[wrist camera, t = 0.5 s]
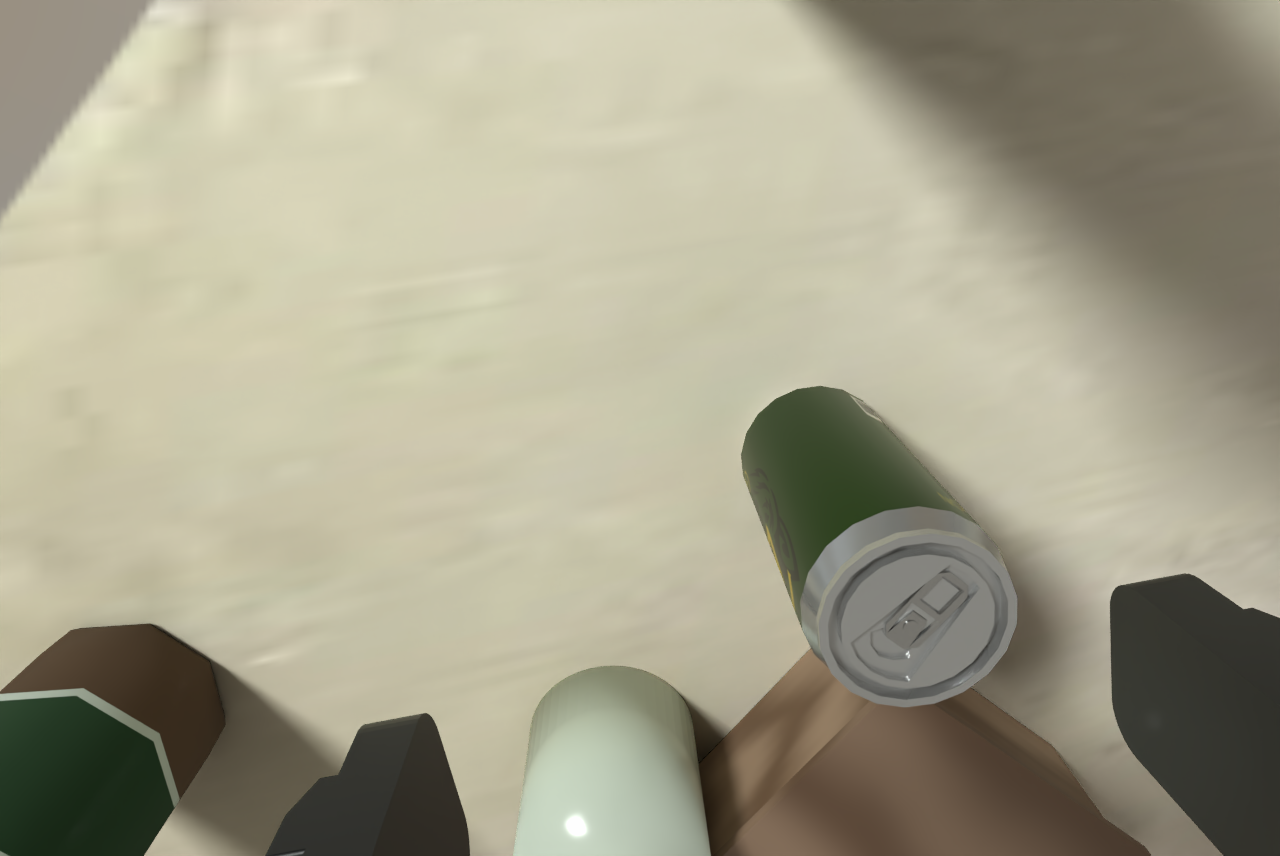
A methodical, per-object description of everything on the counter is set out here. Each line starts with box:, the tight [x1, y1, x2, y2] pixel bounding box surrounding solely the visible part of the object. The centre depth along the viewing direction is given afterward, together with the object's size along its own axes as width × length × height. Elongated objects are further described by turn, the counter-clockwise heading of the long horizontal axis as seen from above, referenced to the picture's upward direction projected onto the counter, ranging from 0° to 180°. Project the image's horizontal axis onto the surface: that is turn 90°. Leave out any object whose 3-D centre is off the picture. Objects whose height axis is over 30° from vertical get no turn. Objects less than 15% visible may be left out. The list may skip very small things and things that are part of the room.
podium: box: [699, 649, 1151, 856], centre depth 34 cm, size 13×13×6 cm
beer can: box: [741, 386, 1017, 707], centre depth 26 cm, size 5×5×12 cm
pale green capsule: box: [513, 666, 711, 856], centre depth 32 cm, size 7×7×8 cm
